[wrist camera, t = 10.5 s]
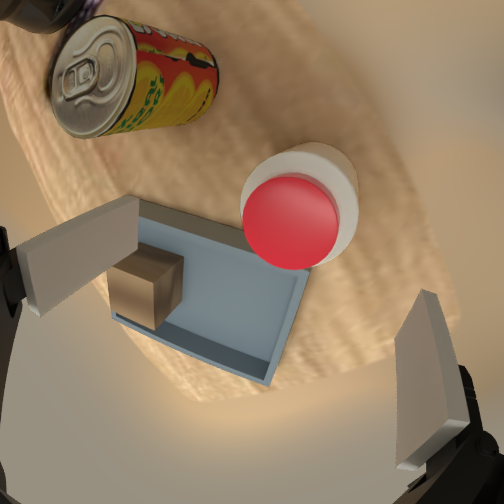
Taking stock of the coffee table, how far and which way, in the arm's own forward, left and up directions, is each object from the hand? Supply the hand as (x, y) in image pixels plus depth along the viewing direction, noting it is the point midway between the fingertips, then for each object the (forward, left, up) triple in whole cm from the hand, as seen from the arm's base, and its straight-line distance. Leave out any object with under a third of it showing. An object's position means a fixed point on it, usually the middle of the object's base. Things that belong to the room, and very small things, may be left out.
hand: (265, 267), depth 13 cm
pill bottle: (0, 0, -16) cm, 16 cm away
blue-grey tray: (+14, -9, -16) cm, 23 cm away
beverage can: (-7, -15, -16) cm, 23 cm away
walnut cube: (+14, -14, -15) cm, 25 cm away
